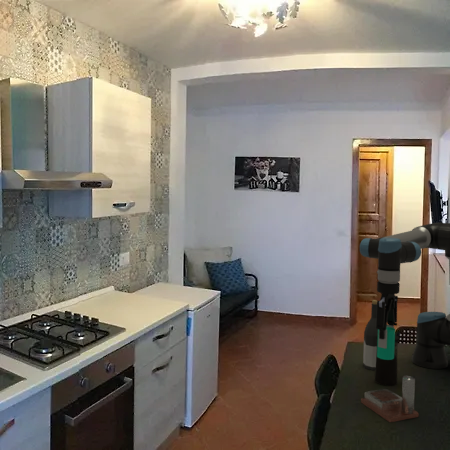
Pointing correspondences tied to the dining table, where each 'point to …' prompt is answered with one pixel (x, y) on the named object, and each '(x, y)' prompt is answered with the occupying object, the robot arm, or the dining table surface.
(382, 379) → the container
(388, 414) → the brown stand with post
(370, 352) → the wine bottle
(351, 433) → the dining table surface
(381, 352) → the candle
